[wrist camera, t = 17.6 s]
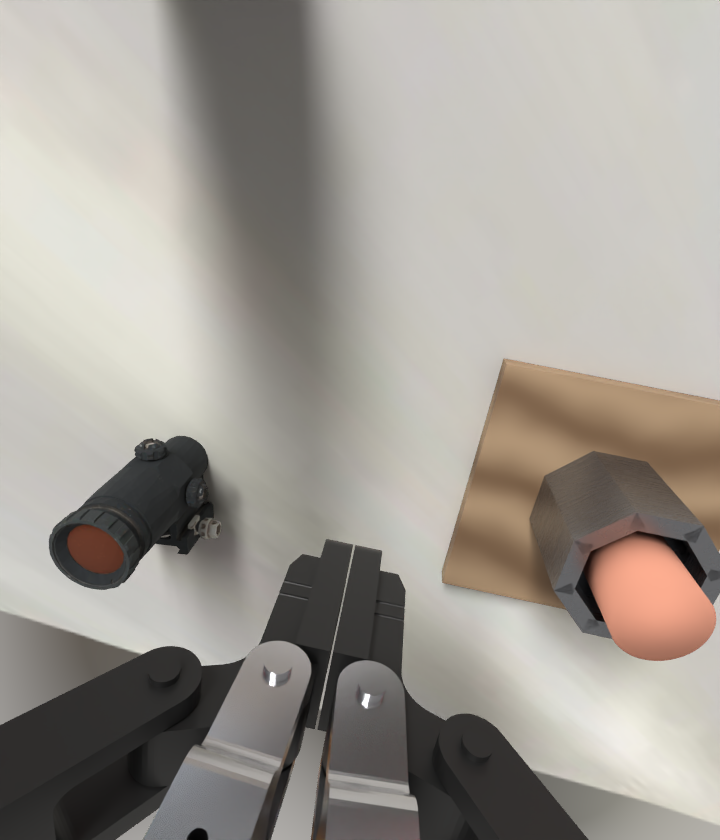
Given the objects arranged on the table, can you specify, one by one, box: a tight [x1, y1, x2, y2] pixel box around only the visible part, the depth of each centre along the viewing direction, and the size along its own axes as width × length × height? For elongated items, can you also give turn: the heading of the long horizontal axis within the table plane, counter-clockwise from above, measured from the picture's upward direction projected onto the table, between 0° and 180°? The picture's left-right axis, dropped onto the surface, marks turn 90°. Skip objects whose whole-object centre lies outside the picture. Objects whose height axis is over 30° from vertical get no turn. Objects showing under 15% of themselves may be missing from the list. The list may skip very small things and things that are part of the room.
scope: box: [49, 436, 222, 590], centre depth 39 cm, size 8×14×10 cm
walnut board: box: [442, 359, 720, 609], centre depth 41 cm, size 20×20×2 cm
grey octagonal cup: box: [529, 451, 720, 639], centre depth 36 cm, size 10×10×8 cm
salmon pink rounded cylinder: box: [583, 531, 716, 661], centre depth 32 cm, size 6×6×6 cm
